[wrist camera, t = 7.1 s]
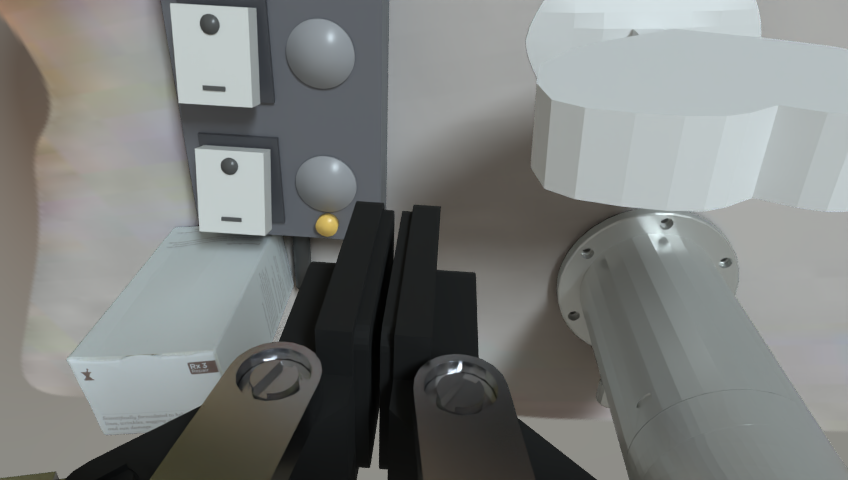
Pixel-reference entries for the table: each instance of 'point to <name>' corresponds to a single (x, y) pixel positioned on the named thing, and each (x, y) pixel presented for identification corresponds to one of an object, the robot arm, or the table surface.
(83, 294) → the table surface
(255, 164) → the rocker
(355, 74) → the rocker switch panel
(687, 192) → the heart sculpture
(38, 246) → the table surface
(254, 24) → the rocker
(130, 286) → the skincare box
